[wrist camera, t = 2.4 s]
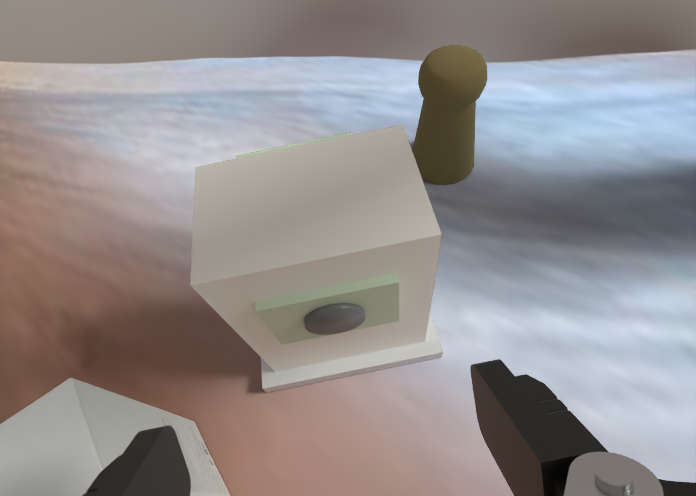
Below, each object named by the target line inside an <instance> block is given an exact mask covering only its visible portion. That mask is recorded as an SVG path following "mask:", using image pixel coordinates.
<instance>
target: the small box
mask: <svg viewBox="0 0 696 496" xmlns="http://www.w3.org/2000/svg"><path fill="white" fill-rule="evenodd" d="M168 425H169V426H171V427H173V429H174V430H175V432H176V435H177V438H178V441H179V444H180V447H181V450H182V453H183V456H184V459H185V462H186V465H187V468H188V471H189V474H190V479H191V491H190V496H230V494H229V492H228V490H227V488H226V486H225V484H224V482H223V480H222V477H221V476H220V474H219V472H218V470H217V467H216V465H215V463H214V461H213V459H212V457H211V455H210V453H209V451H208V449H207V447H206V445H205V443H204V441H203V439H202V437H201V434H200V432H199V430H198V428H197V426H196V424H195V422H194V421H192V420H189V419H186V418H183V417H181V416H178V415H175V414H172V413H170V412H167V411H164V410H162V409H159V408H156V407H153V406H150V405H147V404H144V403H142V402H139V401H136V400H133V399H130V398H127V397H124V396H122V395H119V394H116V393H113V392H111V391H108V390H105V389H102V388H99V387H96V386H94V385H91V384H88V383H85V382H82V381H80V380H77V379H74V378H71V377H70V378H68V379H66V380H65V381H63V382H62V383H60V384H59V385H57V386H56V387H55V388H53V389H52V390H50V391H48V392H47V393H45V394H44V395H42V396H41V397H39V398H38V399H36V400H35V401H33V402H32V403H30V404H29V405H27V406H26V407H24V408H23V409H21V410H20V411H18V412H17V413H15V414H14V415H12V416H11V417H9V418H8V419H6V420H5V421H3V422H2V423H0V496H83V495H84V494H87V490H88V488H89V487H90V486H91V484H92V483H93V481H94V480H95V479H96V477H97V476H98V475H99V473H100V472H101V471H102V470H103V469H105V468H106V467H107V466H108V465H109V464H110V463H111V462H113V461H114V460H115V459H116V458H117V457H118V456H120V455H122V454H123V453H124V451H125V450H126V448H127V447H128V445H129V444H130V443H131V441H132V440H133V438H134V437H135V436H136V434H137V433H138V432H140V431H143V430H148V429H153V428H158V427H163V426H168Z"/></svg>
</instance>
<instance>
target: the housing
mask: <svg viewBox="0 0 696 496" xmlns="http://www.w3.org/2000/svg"><path fill="white" fill-rule="evenodd" d="M441 237H442V233H441V231H440V228H439V225H438V222H437V219H436V217H435V214H434V211H433V208H432V205H431V202H430V200H429V197H428V194H427V191H426V188H425V186H424V183H423V180H422V177H421V174H420V172H419V169H418V166H417V163H416V160H415V158H414V155H413V152H412V149H411V146H410V143H409V141H408V138H407V135H406V132H405V129H404V127H403V125H400V126H395V127H390V128H385V129H380V130H375V131H371V132H366V133H361V134H356V135H351V136H346V137H341V138H336V139H331V140H327V141H322V142H317V143H312V144H307V145H302V146H297V147H292V148H287V149H283V150H278V151H273V152H268V153H263V154H258V155H253V156H248V157H243V158H239V159H234V160H229V161H224V162H219V163H214V164H209V165H204V166H199V167H196V169H195V192H194V215H193V238H192V261H191V284H190V286H191V287H192V288H193V289H194V290H195V291H196V292H197V293H198V294H199V295H200V296H201V297H202V298H203V299H204V300H205V301H206V302H207V303H208V304H209V305H210V306H211V307H212V308H213V309H214V310H215V311H216V312H217V313H218V314H219V315H220V316H221V317H222V318H223V319H224V320H225V321H226V322H227V323H228V324H229V325H230V326H231V327H232V328H233V329H234V330H235V331H236V332H237V333H238V334H239V336H240V337H241V338H242V339H243V340H244V341H245V342H246V343H247V344H248V345H249V346H250V347H251V348H252V349H253V350H254V351H255V352H256V353H257V354H258V355H259V356H260V357H261V373H262V389H263V390H265V391H266V392H272V391H277V390H282V389H287V388H292V387H297V386H302V385H307V384H312V383H317V382H322V381H326V380H331V379H336V378H341V377H346V376H351V375H356V374H361V373H366V372H371V371H376V370H381V369H386V368H391V367H396V366H401V365H406V364H411V363H415V362H420V361H425V360H430V359H435V358H440V357H442V354H443V351H442V347H441V344H440V341H439V337H438V334H437V331H436V327H435V324H434V321H433V317H432V314H431V311H430V308H431V301H432V295H433V288H434V282H435V275H436V269H437V263H438V256H439V250H440V243H441Z"/></svg>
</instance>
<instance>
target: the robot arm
mask: <svg viewBox="0 0 696 496" xmlns="http://www.w3.org/2000/svg"><path fill="white" fill-rule="evenodd" d="M471 378H472V384H473V391H474V398H475V405H476V412H477V418H478V423H479V426H480V430H481V433H482V435H483V438H484V440H485V442H486V444H487V446H488V448H489V450H490V452H491V454H492V455H493V457H494V459H495V461H496V463H497V465H498V466H499V468H500V470H501V472H502V474H503V476H504V478H505V479H506V481H507V483H508V485H509V487H510V489H511V491H512V492H513V494H514V496H696V483H689V482H674V481H665V480H660V479H657V477H656V476H655V475H654V474H653V473H652V472H651V471H650V470H649V469H647V468H646V467H645V466H643V465H642V464H640V463H639V462H637V461H635V460H633V459H631V458H628V457H625V456H623V455H619V454H615V453H610V452H608V451H607V450H606V449H605V448H604V447H603V446H602V445H601V443H600V442H599V441H598V440H597V439H596V438H595V437H594V436H593V435H592V434H591V433H590V432H589V431H588V430H587V429H586V428H585V426H584V425H583V424H582V423H581V422H580V421H579V420H578V419H577V418H576V417H575V416H574V415H573V414H572V413H571V412H570V411H568V409H567V407H566V406H565V405H564V404H563V403H562V402H561V401H560V400H558V399H557V397H556V396H555V395H554V393H553V392H552V391H551V390H550V389H549V388H548V387H547V386H546V385H545V384H544V383H542V382H540V381H538V380H536V379H534V378H532V377H530V376H528V375H526V374H525V375H520V376H516V377H515V376H514V375H513V374H512V373H511V371H510V370H509V369H508V368H507V367H506V365H505V364H504V363H503V362H502V361H501V360H500V359H498V360H493V361H488V362H483V363H478V364H473V365H471ZM190 491H191V479H190V474H189V471H188V468H187V465H186V462H185V459H184V456H183V453H182V450H181V447H180V444H179V441H178V438H177V435H176V432H175V430H174V429H173V427H171V426H169V425H168V426H163V427H158V428H153V429H148V430H143V431H140V432H138V433H137V434H136V436H135V437H134V438H133V440H132V441H131V443H130V444H129V445H128V447H127V448H126V450H125V451H124V453H123V454H122V455H120V456H118V457H117V458H116V459H115V460H114V461H113V462H111V463H110V464H109V465H108V466H107V467H106V468H105V469H103V470H102V471H101V472H100V473H99V475H98V476H97V477H96V479H95V480H94V481H93V483H92V484H91V486H90V487H89V488H88V490H87V494H84V495H83V496H190Z"/></svg>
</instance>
